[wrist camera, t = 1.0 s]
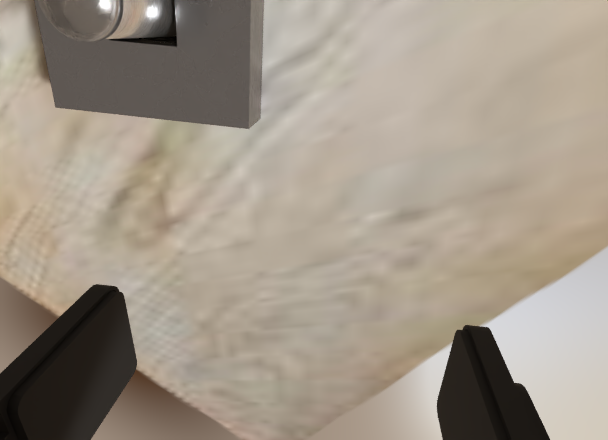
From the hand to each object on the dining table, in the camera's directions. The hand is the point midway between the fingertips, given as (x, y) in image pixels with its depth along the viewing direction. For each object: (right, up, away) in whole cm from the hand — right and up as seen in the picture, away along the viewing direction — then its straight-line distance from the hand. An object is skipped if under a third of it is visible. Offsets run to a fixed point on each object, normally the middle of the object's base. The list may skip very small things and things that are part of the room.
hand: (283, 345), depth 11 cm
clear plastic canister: (-11, +20, +20) cm, 31 cm away
